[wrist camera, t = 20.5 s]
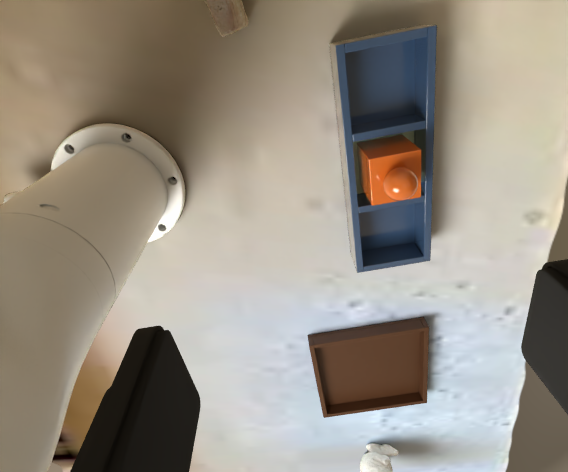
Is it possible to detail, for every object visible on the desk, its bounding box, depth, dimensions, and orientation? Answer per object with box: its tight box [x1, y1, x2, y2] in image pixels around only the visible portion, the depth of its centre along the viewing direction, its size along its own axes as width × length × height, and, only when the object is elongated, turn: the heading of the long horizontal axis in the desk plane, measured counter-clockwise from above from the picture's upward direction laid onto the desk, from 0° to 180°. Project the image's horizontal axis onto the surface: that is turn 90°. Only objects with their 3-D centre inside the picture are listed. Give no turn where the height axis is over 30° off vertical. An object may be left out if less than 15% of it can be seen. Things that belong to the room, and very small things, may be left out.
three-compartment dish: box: [329, 25, 437, 273], centre depth 35 cm, size 8×22×4 cm, turn 10°
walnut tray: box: [308, 317, 429, 418], centre depth 51 cm, size 15×15×2 cm
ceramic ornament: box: [357, 134, 421, 206], centre depth 33 cm, size 4×4×8 cm
